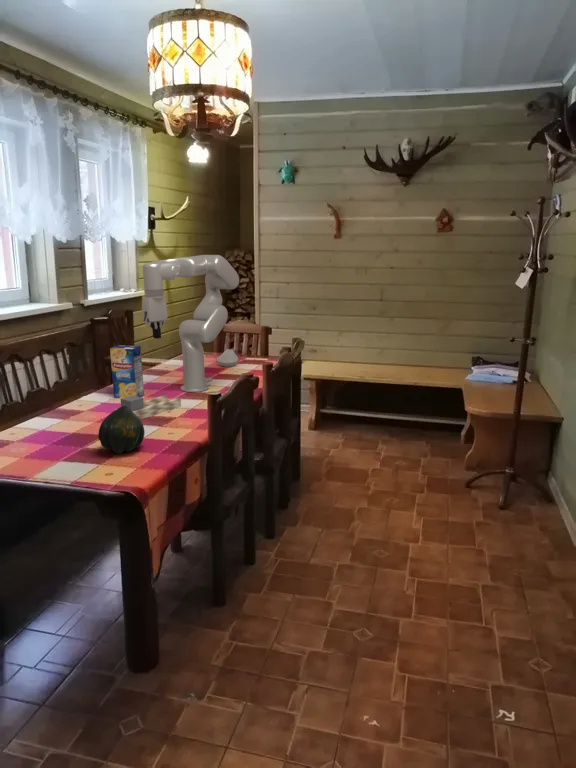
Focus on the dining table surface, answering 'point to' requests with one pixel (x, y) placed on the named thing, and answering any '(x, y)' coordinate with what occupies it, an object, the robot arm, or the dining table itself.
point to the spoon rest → (227, 358)
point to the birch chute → (157, 406)
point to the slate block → (133, 403)
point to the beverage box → (127, 371)
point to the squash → (121, 431)
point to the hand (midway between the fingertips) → (157, 338)
